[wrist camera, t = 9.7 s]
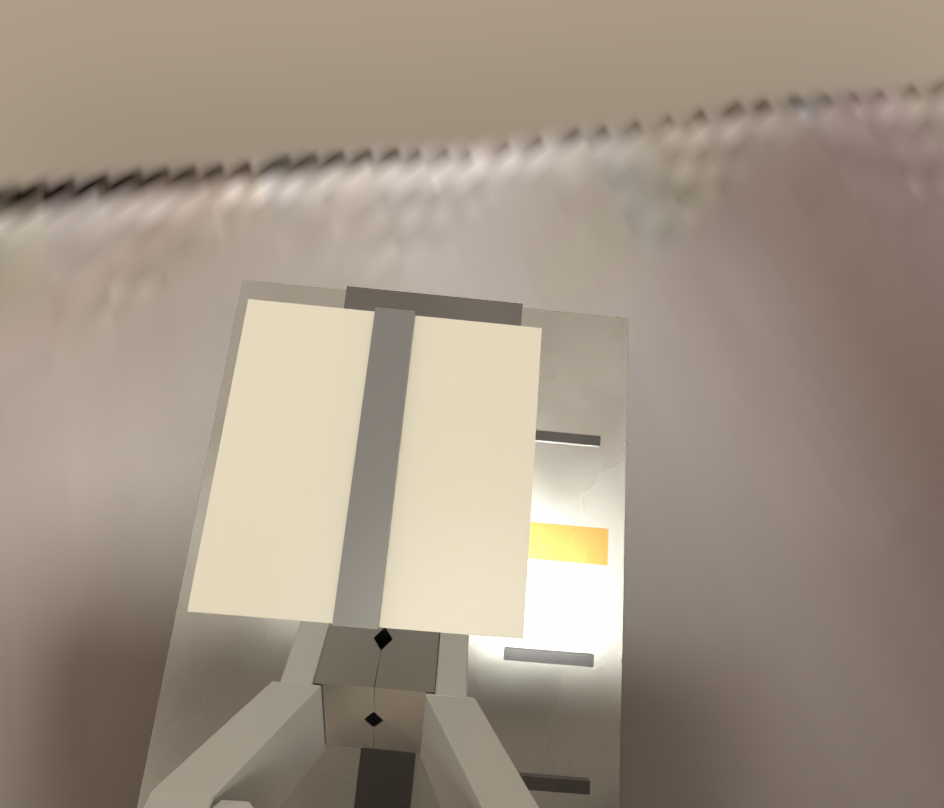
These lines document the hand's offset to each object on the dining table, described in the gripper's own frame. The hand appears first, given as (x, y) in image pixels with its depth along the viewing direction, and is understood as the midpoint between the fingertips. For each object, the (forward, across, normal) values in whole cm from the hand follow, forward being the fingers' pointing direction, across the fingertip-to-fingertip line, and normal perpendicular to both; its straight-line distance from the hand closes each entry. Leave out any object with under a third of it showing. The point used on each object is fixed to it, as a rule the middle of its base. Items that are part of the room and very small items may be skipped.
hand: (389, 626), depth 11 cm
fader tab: (+5, 0, +1) cm, 5 cm away
